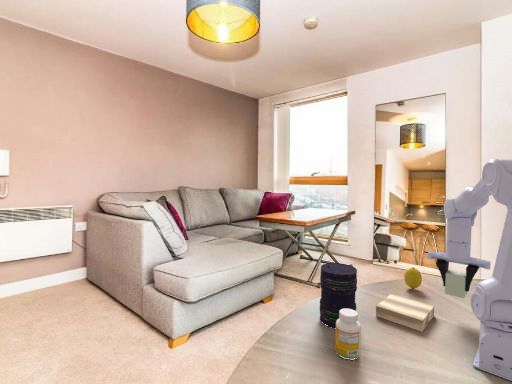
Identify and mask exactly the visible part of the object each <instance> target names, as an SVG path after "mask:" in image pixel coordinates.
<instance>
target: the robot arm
mask: <svg viewBox="0 0 512 384" xmlns="http://www.w3.org/2000/svg"><path fill="white" fill-rule="evenodd" d="M481 171H482V172H481V178H480V179H479V181H478V182H477V183H476V184H475V185H473V186H472V185H468V186H467V187H466V188H465V189H463V190H462V191H461V192H460V193H459V194H458V195H457V196H455V198H446V200H445V201H444V204H443V214H444V217H445V218H446V220H447V221H446V235H445V236H446V238H445V239H446V240H445V241H446V242H445V244H446V245H445V252H441V251H430V250H429V251H428V252H427V259H428V260H436V261H435V266H436V267H437V269H438V272H439V273H440V275H441V276H440V277H441V280H442V284H443V287H445V281H446V272H447V271H448V270H449V264H450V263H453V264H460V265H464V266H465V265H466V266H465V273H466V285H465V291H466V292H467V293H469V291H470V289H471V288H470V287H471V284H472V282H473V279H474V277H475V276H476V274H477V272H478V271H479V269H480V268H481V269H485V270H487V271H488V270H491V268H492V267H491V263H492V261H491V260H486V259H483V258H482V259H481V258H477V257H472V256H471V249H472V248H471V246H472V228H473V227H474V226H475V220H476V218H477V215H478V211H479V210H481V209H482V208H484V207H485V206H486V205H487V204H488V203H489V202H490V197H491V196H492V197H493V199H494V200H495V202H497V203H498V204H501V205H504V206H505V207H506V208H507V211H506V215H505V216H506V217H505V221H504V223H503V224H504V225H503V229H502V232H501V237H500V241H499V245H498V250H497V252H496V258H495V262H494V267H493V270H492V271H493V272H492V275H491V276H490V277H488V278H486V279H484V280H481V281H478V282H477V285H476V288H475V290H474V291H473V293H472V294H471V295H470V296H471V297H470V308H471V310H472V313H473V314H474V317H476V319H477V320H478V321H479V323H480V324H479V339H478V347H477V351H476V352H475V353H476V354H475V357H474V359H473V363H472V367H474V368H476V369H478V370H481V371H484V372H487V373H489V374H492V375H495V376H497V377H500V378H502V379H505V380H508V381H510V382H512V159H499V158H491V159H489V160H488V161H487V162H486V163H485V164H484V165H483V167H482V170H481Z"/></svg>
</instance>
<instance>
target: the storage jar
mask: <svg viewBox="0 0 512 384" xmlns="http://www.w3.org/2000/svg"><path fill="white" fill-rule="evenodd" d="M357 277H358V269H357V268H356V267H354V266H353V265H350V264H346V263H338V262H337V263H336V262H331V263H330V262H329V263H328V262H327V263H324V264H321V266H320V275H319V280H320V281H319V286H320V289H321V291H320V293H321V294H320V299H319V315H320V316H319V321H320V320H321V321H322V322H323V323H324V324H326V325H328V326H329V327H332V328H336V321H337V319H339V311H340V310H341V309H344V308H348V309H352V310H355V311H356V312H357V309H358V307H357V303H356V292H357V289H358V286H357V285H358V278H357ZM321 321H320V322H321ZM324 324H323V325H324ZM329 327H328V328H329ZM332 328H331V329H332Z"/></svg>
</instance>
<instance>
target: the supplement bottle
mask: <svg viewBox="0 0 512 384" xmlns="http://www.w3.org/2000/svg"><path fill="white" fill-rule="evenodd" d="M358 319H359V314H358V312H357V310H356V311H355V310H352V309H348V308H344V309H341V310H340V311H339V319H337V321H336V329H335V338H334V339H335V343H334V344H335V345H334V347H335V348H334V349H335V350H336V352H337V354H339V355H340V356H342V357H344V358H349V359H354V358H355V359H356V358H358V357H359V356H361V337H362V335H361V334H362V333H361V332H362V330H361V328H362V327H361V323H360V322H359V320H358ZM336 352H335V353H336ZM337 354H336V355H337ZM359 358H360V357H359ZM359 358H358V359H359Z"/></svg>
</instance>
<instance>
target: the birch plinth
mask: <svg viewBox="0 0 512 384" xmlns="http://www.w3.org/2000/svg"><path fill="white" fill-rule="evenodd" d="M375 316H376V317H378V318H382V319H384V320H387V321H390V322H392V323H395V324H399V325H401V326H404V327H407V328H409V329H413V330H415V331H418V332H421V333H423V332H424V330H425V329H426V328H427V326H428V325H429V324H430V322H431V321H432V319H433V318H434V316H435V305H433V304H428V303H425V302H421V301H417V300H414V299H410V298H407V297H404V296H400V295H396V294H393V293H390V294H388V296H386V297H385V298H384V299H383V300H381V301H380V302H379V303H378V304H377V305H376V306H375Z"/></svg>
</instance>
